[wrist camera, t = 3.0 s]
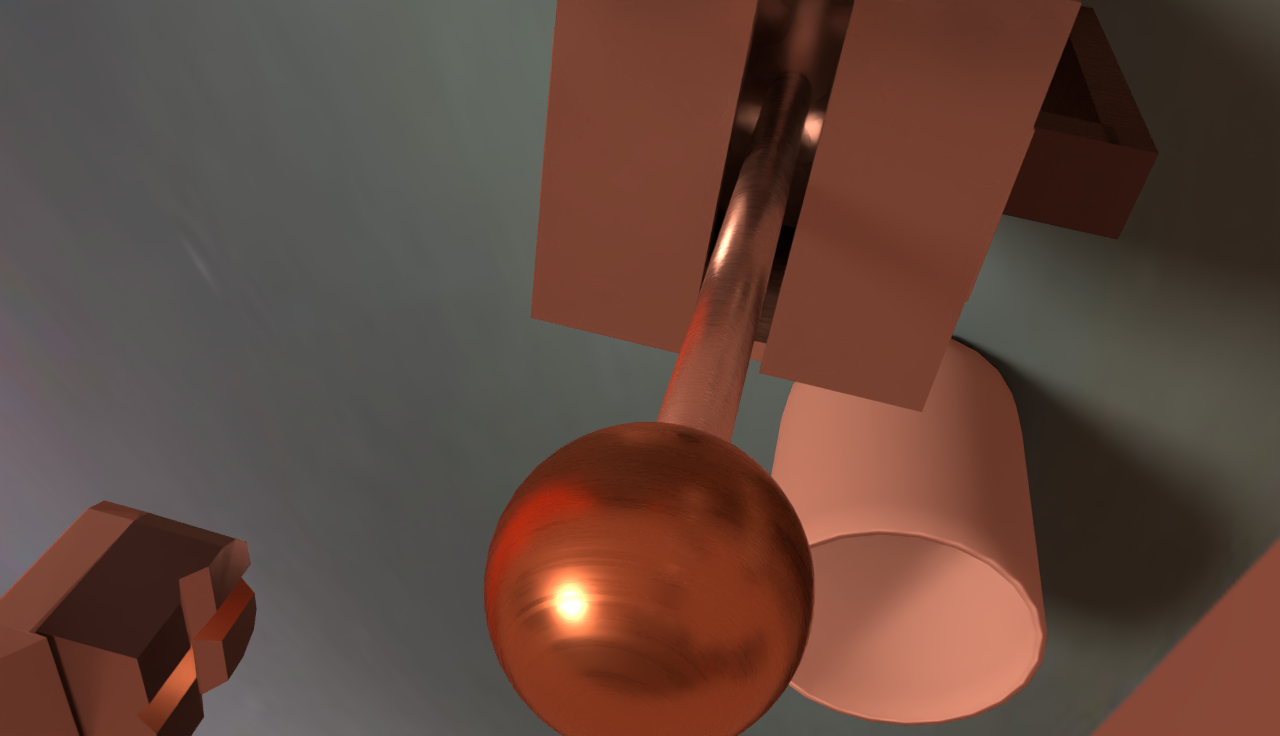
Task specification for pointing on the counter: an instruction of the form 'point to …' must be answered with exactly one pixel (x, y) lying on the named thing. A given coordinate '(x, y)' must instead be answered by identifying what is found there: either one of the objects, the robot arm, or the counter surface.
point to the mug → (916, 547)
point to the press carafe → (826, 173)
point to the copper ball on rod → (680, 477)
